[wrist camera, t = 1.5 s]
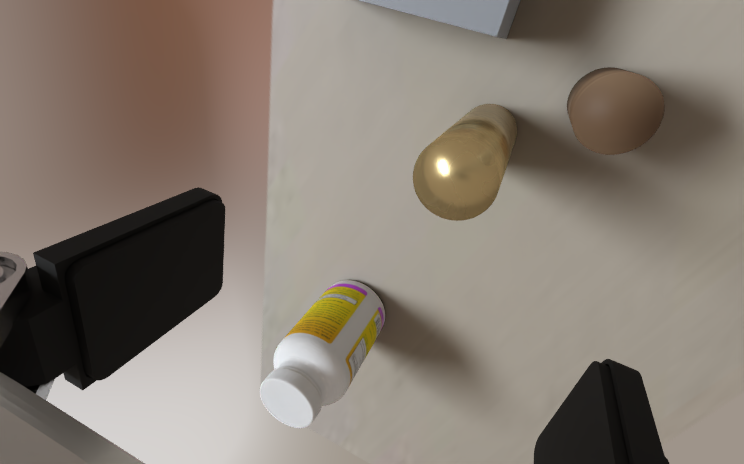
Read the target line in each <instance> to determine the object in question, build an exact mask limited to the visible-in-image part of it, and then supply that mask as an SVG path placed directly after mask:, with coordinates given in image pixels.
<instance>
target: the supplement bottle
mask: <svg viewBox="0 0 744 464" xmlns="http://www.w3.org/2000/svg"><path fill="white" fill-rule="evenodd" d="M384 322H385V310H384V306H383V304H382V302H381V300H380V298H379V297H378V296H377V294H376V293H375V292H374V291H373V290H371V289H370V288H369V287H368V286H366V285H364V284H362V283H360V282H357V281H352V280H344V281H339V282H336V283H334V284H333V285H332V286H330V287H329V288H328V289H327V290H326V291H325V292H324V294H323V295H322V296H321V297H320V298H319V299H318V300H317V301H316V303H315V304H314V305H313V306H312V307H311V308H310V309H309V310H308V312H307V313H306V314H305V315H304V316H303V317H302V318H301V320H300V321H299V322H298V323H297V324H296V325H295V326H294V327H293V329H292V330H291V331H290V332H289V333H288V334H287V335H286V336H285V338H284V339H283V340H282V341H281V342H280V344H279V345H278V347H277V349H276V351H275V354H274V369H275V370H273V371H272V372H271V373H270V374H269V375H268V376H267V378H266V379H265V380H264V381H263V383H262V384H261V387H260V397H261V400H262V402H263V404H264V406H265V408H266V409H267V410H268V411H269V412H270V413H271V415H273V416H274V417H275V418H276V419H277V420H279V421H280V422H282V423H283V424H286V425H288V426H291V427H295V428H304V427H307V426H309V425H310V424H311V423H312V422H313V421H314V419H315V418H316V416H317V415H318V413H319V412H320V410H321V406H326V405H330V404H332V403H335V402H336V401H338V400H339V399H340V398H341V397H342V396H343V395H344V394H345V392H346V391H347V389H348V387H349V385H350V384H351V382H352V380H353V378H354V377H355V375H356V373H357V371H358V370H359V368H360V366H361V364H362V363H363V361H364V359H365V358H366V356H367V354H368V352H369V351H370V349H371V347H372V345H373V344H374V342H375V340H376V338H377V337H378V335H379V333H380V331H381V329H382V327H383V325H384Z"/></svg>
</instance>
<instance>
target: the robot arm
mask: <svg viewBox="0 0 744 464" xmlns="http://www.w3.org/2000/svg"><path fill="white" fill-rule="evenodd" d="M224 228H225V206H224V204H223V203H222V200H221V198H220V196H218V195H216V194H214V193H212V192H209V191H207V190H204V189H202V188H194V189H192V190H189V191H187V192H184V193H182V194H179V195H177V196H174V197H172V198H169V199H167V200H164V201H162V202H159V203H157V204H155V205H152V206H149V207H147V208H144V209H142V210H139V211H137V212H135V213H132V214H129V215H127V216H124V217H122V218H119V219H117V220H114V221H112V222H109V223H107V224H104V225H102V226H99V227H97V228H94V229H92V230H89V231H87V232H85V233H82V234H79V235H77V236H74V237H72V238H69V239H67V240H64V241H62V242H59V243H57V244H54V245H52V246H49V247H47V248H44V249H42V250H39V251H37V252H34V253H33V254H34V258H35V262H36V266H34V267H32V268H29V269H28V268H27V265H26V262H25V260H24V259H23V258H21V257H20V256H18V255H15V254H12V253H8V252H0V464H144V463H143V462H141V461H140V460H138V459H137V458H135V457H134V456H132V455H130V454H129V453H127V452H126V451H124V450H123V449H121V448H120V447H118V446H117V445H115V444H113V443H112V442H110V441H109V440H107V439H105V438H104V437H102V436H101V435H99V434H98V433H96V432H95V431H93V430H91V429H90V428H88V427H87V426H85V425H84V424H82V423H80V422H79V421H77V420H76V419H74V418H73V417H71V416H69V415H68V414H66V413H65V412H63V411H62V410H60V409H58V408H57V407H55V406H54V405H52V404H51V403H49V402H48V401H46V399H47V396H48V394H49V391H50V389H51V387H52V384H53V381H54V379H55V378H56V377H58V376H59V375H61V374H62V373H64V376H65V379H66V380H67V381H69V382H70V383H72V384H73V385H75V386H77V387H79V388H80V389H82V390H84V389H85V388H87V387H88V386H89V385H91V384H92V383H94V382H95V381H96V380H102V379H105V378H107V377H108V376H110V375H111V374H112V373H114V372H115V371H116V370H118V369H119V368H120V367H122V366H123V365H124V364H126V363H127V362H128V361H130V360H131V359H132V358H134V357H135V356H136V355H138V354H139V353H140V352H142V351H143V350H144V349H146V348H147V347H148V346H150V345H151V344H152V343H154V342H155V341H156V340H158V339H159V338H160V337H161V336H163V335H164V334H166V333H167V332H168V331H169V330H171V329H172V328H174V327H175V326H176V325H178V324H179V323H180V322H182V321H183V320H184V319H186V318H187V317H188V316H190V315H191V314H192V313H194V312H195V311H196V310H198V309H199V308H200V307H202V306H203V305H204V304H206V303H207V302H208V301H210V300H211V299H212V298H214V297H215V296H216V295H217V294H218V293H219V291H220V290H221V287H222V283H223V257H224V256H223V255H224ZM534 464H669V462H668V460H667V459H666V457H665V456H664V453H663V449H662V446H661V442H660V439H659V435H658V432H657V429H656V425H655V422H654V418H653V415H652V411H651V408H650V404H649V401H648V397H647V394H646V391H645V387H644V384H643V380H642V377H641V375H640V373H639V372H638V371H637V370H634V369H632V368H629V367H627V366H625V365H622V364H620V363H617V362H615V361H613V360H610V359H606V360H604V361H603V362H602V363H599V362H597V361H594V362H592V363H591V365H590V366H589V367H588V369H587V370H586V371H585V373H584V374H583V376H582V377H581V378H580V380H579V381H578V383H577V384H576V385H575V387H574V388H573V390H572V391H571V392H570V394H569V395H568V397H567V398H566V399H565V401H564V402H563V404H562V405H561V406H560V408H559V409H558V411H557V412H556V413H555V415H554V416H553V418H552V419H551V420H550V422H549V423H548V425H547V426H546V427H545V429H544V430H543V432H542V433H541V434H540V436H539V438H538V440H537V442H536V445H535V450H534Z"/></svg>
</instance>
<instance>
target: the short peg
mask: <svg viewBox="0 0 744 464" xmlns="http://www.w3.org/2000/svg"><path fill="white" fill-rule="evenodd" d="M567 111H568V115H569V118H570V121H571V124H572V127H573V130H574V133H575V135H576V137H577V139H578V140H579V142H580V143H581V144H582V145H583V146H585V147H586V148H588V149H589V150H591V151H594V152H596V153H600V154H607V155H614V154H621V153H625V152H628V151H631V150H633V149H636V148H637V147H639V146H641V145H642V144H644V143H645V142H646V141H647V140H649V139H650V138H651V137H652V136H653V134H654V133H655V132H656V131H657V129H658V128H659V126H660V124H661V121H662V119H663V115H664V99H663V95H662V93H661V91H660V89H659V88H658V87H657V85H656V84H655V83H654V82H652V81H651V80H650V79H648V78H646V77H644V76H642V75H639V74H635V73H632V72H629V71H625V70H622V69H618V68H601V69H597V70H594V71H592V72H590V73H588V74H586V75H585V76H584V77H582V78H581V79H580V80H579V81H578V82H577V83H576V84H575V85H574V87H573V88H572V90H571V92H570V94H569V97H568V101H567Z"/></svg>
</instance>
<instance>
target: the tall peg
mask: <svg viewBox="0 0 744 464" xmlns="http://www.w3.org/2000/svg"><path fill="white" fill-rule="evenodd" d="M516 136H517V125H516V122H515V119H514V117H513V116H512V114H511V113H510V112H509V111H508V110H507V109H505V108H504V107H502V106H499V105H495V104H484V105H480V106H478V107H475V108H474V109H472V110H471V111H470V112H468V113H467V114H466V115H465V116H464V117H462V118H461V119H460V120H459V121H458V122H456V123H455V124H454V125H453V126H452V127H450V128H449V129H448V130H447V131H446V132H444V133H443V134H442V135H441V136H440V137H438V138H437V139H436V140H435V141H433V142H432V143H431V144H430V145H429V146H427V147H426V148H425V149H424V150H423V151H422V153H421V154H420V155H419V157H418V159H417V161H416V164H415V166H414V171H413V183H414V188H415V192H416V194H417V196H418V198H419V200H420V201H421V202H422V204H423V205H424V206H425V207H426V208H427V209H428V210H429V211H431V212H432V213H434V214H435V215H437V216H439V217H441V218H445V219H449V220H467V219H471V218H474V217H476V216H478V215H480V214H481V213H483V212H484V211H485V210H487V209H488V208H489V207H490V205H491V204H492V203H493V201H494V200H495V198H496V196H497V193H498V190H499V187H500V184H501V182H502V179H503V176H504V173H505V170H506V167H507V164H508V161H509V158H510V155H511V152H512V149H513V146H514V143H515V140H516Z"/></svg>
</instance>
